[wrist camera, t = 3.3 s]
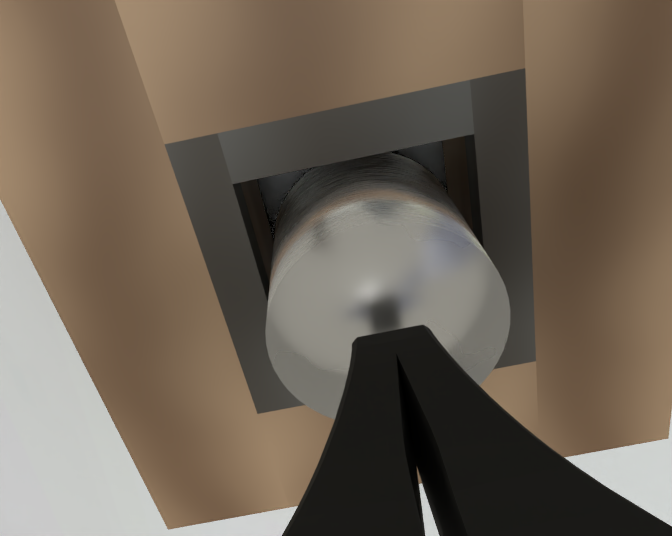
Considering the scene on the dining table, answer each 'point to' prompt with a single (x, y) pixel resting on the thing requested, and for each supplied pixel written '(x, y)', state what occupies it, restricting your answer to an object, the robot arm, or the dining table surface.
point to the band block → (321, 149)
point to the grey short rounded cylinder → (376, 274)
